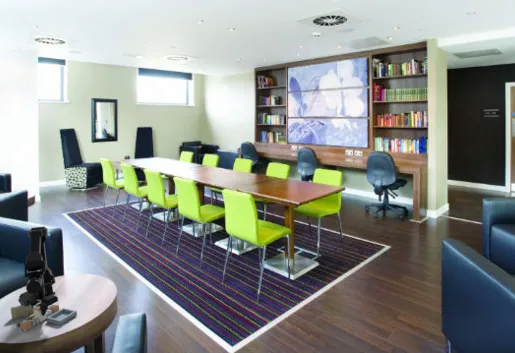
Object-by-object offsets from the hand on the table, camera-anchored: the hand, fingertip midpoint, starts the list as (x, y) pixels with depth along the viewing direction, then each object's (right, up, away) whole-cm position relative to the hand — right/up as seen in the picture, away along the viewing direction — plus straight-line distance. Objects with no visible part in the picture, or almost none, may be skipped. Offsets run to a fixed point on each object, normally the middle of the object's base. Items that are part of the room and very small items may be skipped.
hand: (40, 314), depth 174 cm
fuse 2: (+3, -2, +7) cm, 8 cm away
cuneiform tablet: (-9, -3, +4) cm, 11 cm away
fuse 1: (-3, -4, -7) cm, 8 cm away
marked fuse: (0, -3, 0) cm, 2 cm away
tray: (+10, -2, +2) cm, 10 cm away
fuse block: (-2, -3, +1) cm, 3 cm away
